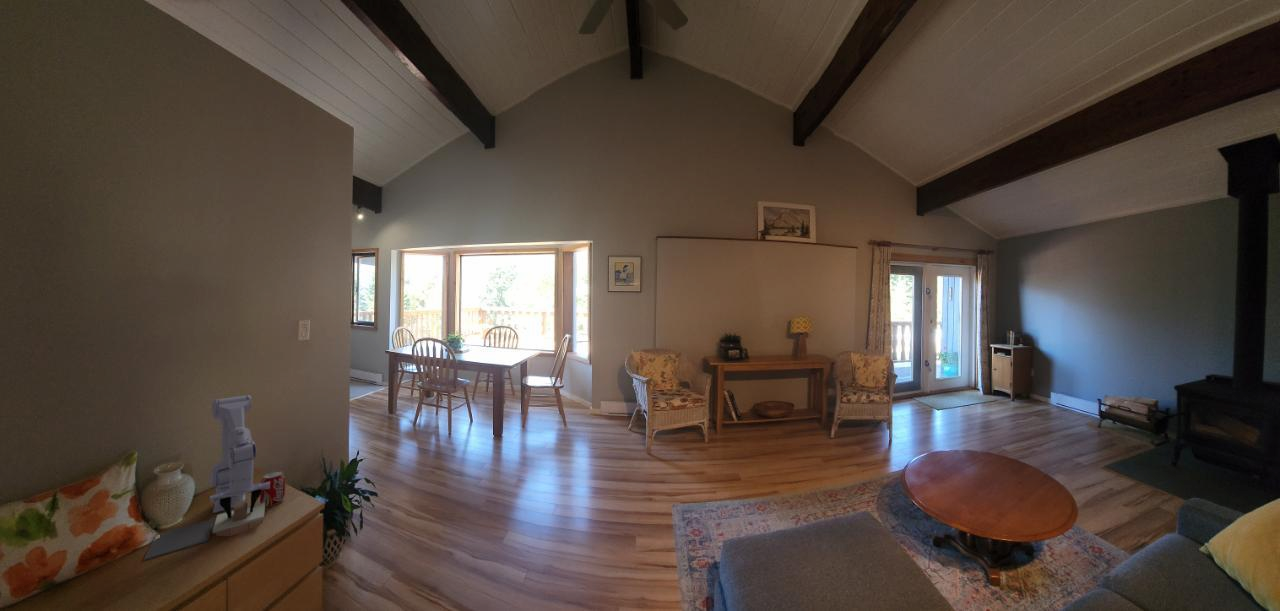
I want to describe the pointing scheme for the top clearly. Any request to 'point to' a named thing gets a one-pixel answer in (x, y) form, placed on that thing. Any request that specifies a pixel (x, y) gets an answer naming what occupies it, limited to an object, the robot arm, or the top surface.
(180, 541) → the mat
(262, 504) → the cover
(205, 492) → the top surface
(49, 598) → the top surface
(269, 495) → the soda can
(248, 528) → the bowl
